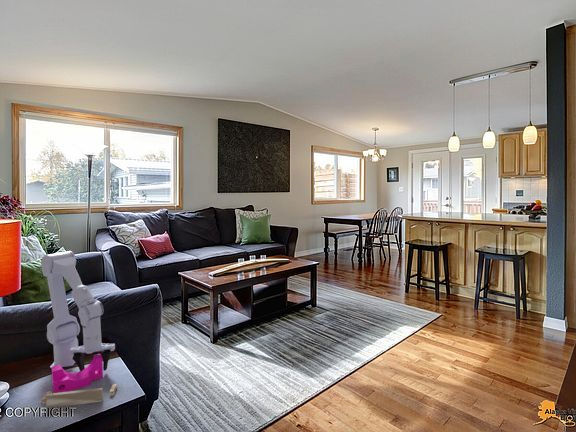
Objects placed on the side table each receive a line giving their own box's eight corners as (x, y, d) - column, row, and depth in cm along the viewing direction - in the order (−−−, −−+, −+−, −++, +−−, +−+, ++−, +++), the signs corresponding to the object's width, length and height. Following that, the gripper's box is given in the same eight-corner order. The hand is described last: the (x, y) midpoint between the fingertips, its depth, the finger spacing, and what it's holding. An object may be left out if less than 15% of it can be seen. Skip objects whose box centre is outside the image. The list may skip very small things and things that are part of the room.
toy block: (54, 396, 115) (53, 374, 114) (52, 387, 120) (51, 366, 119) (104, 379, 124) (103, 360, 124) (100, 372, 129) (99, 353, 128)
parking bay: (47, 395, 115) (47, 384, 115) (117, 387, 120) (116, 376, 119) (37, 409, 108) (36, 397, 108) (111, 400, 113) (110, 388, 112)
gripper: (65, 341, 121) (67, 378, 123) (110, 338, 125) (112, 373, 126) (73, 333, 128) (75, 368, 129) (115, 330, 131) (117, 364, 133)
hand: (94, 370), depth 128 cm, fingers closed on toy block, 7 cm apart
